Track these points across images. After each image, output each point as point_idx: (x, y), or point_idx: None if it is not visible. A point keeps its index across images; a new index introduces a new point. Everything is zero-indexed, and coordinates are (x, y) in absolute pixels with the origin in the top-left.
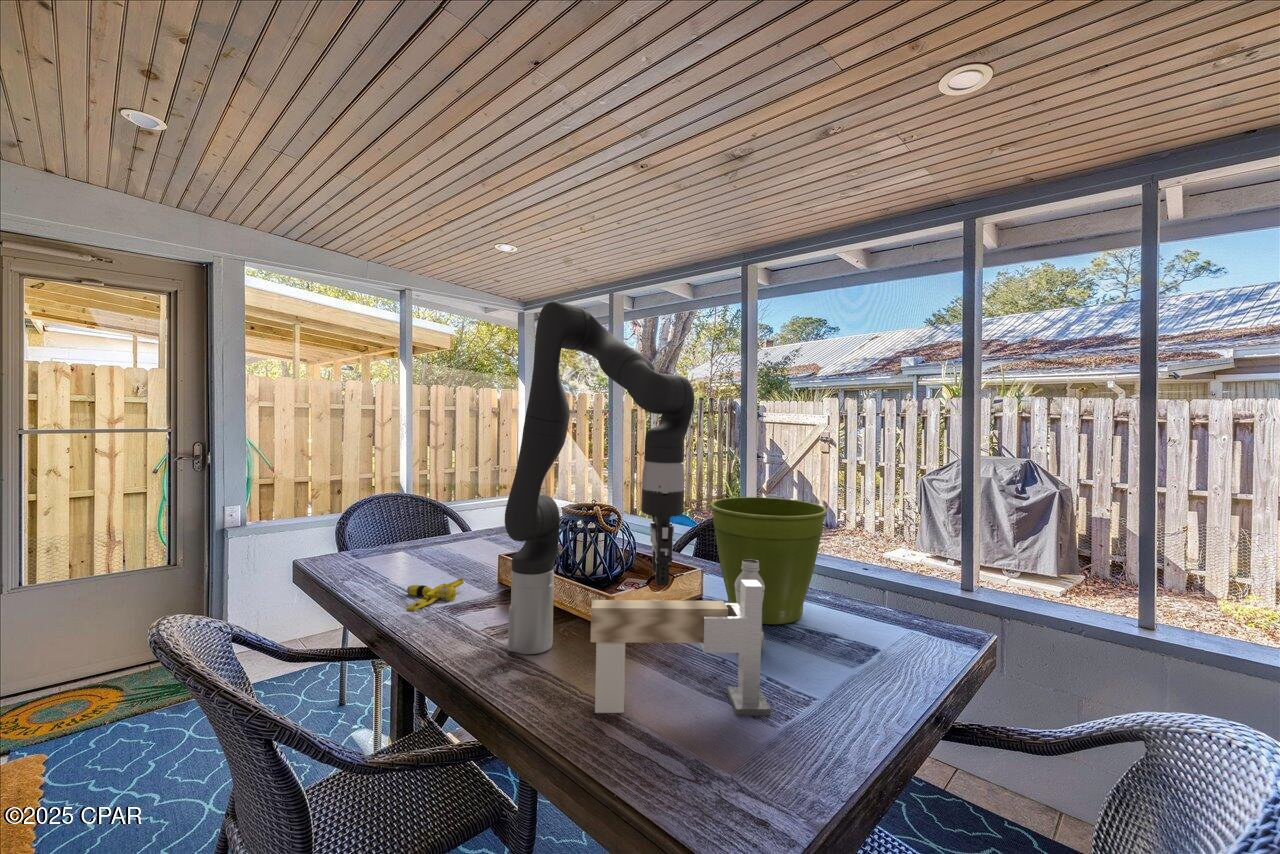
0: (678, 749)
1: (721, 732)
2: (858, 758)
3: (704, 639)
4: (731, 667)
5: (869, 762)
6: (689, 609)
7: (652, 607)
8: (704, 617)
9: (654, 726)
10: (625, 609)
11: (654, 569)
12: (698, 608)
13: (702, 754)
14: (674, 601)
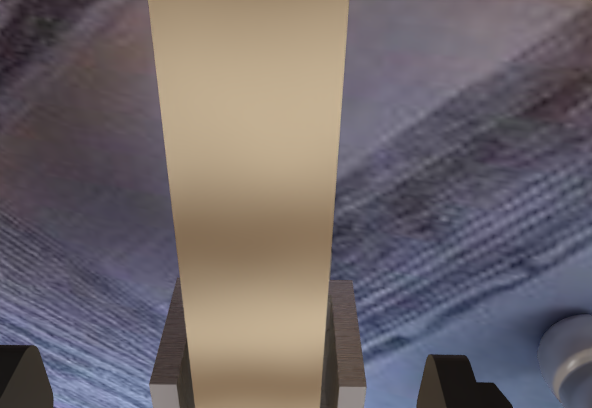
0: (30, 77)
1: (131, 193)
2: (76, 393)
3: (167, 315)
4: (480, 277)
5: (67, 403)
6: (189, 359)
7: (191, 196)
8: (159, 385)
9: (138, 21)
10: (150, 12)
11: (428, 368)
12: (199, 393)
13: (21, 134)
14: (306, 313)
